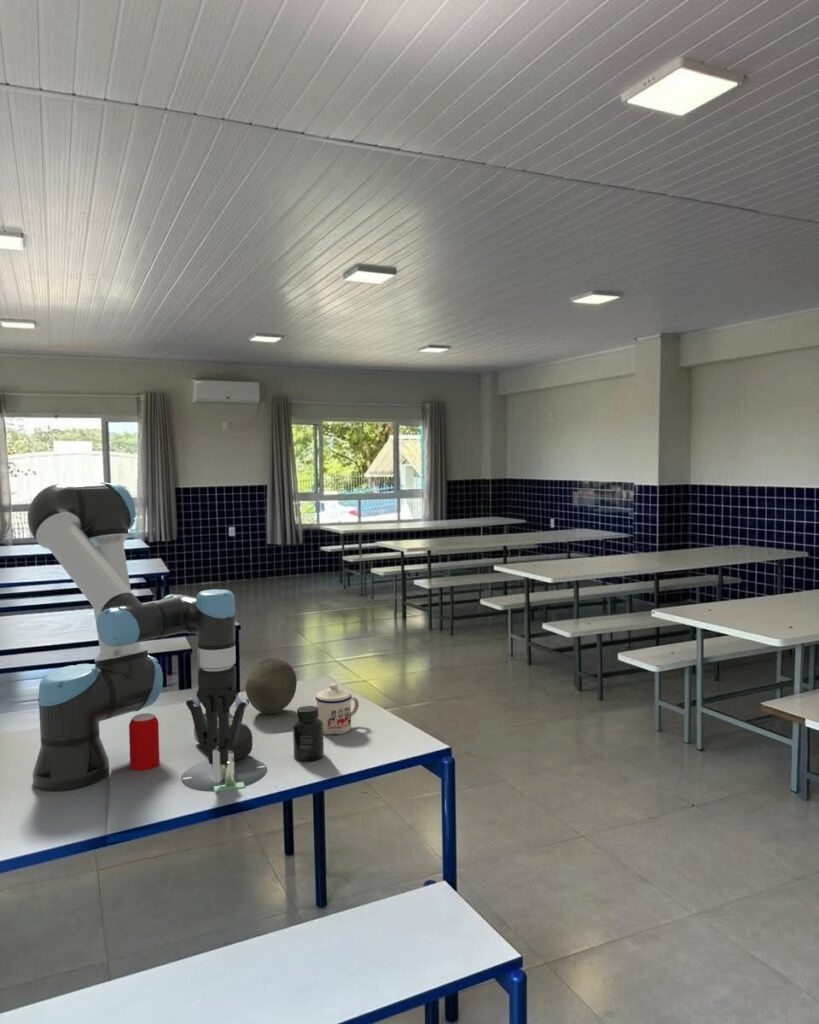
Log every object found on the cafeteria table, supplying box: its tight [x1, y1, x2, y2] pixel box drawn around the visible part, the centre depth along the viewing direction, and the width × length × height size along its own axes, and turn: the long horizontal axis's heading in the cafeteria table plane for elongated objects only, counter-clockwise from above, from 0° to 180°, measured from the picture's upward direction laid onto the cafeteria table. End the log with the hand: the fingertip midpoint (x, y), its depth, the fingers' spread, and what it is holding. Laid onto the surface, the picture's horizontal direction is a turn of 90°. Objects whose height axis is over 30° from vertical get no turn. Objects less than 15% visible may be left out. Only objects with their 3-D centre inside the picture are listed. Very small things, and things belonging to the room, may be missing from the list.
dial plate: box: [180, 757, 268, 793], centre depth 159 cm, size 18×18×1 cm
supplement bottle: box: [292, 705, 325, 763], centre depth 168 cm, size 7×7×12 cm
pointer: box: [224, 750, 235, 786], centre depth 156 cm, size 10×4×5 cm, turn 23°
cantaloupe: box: [245, 657, 298, 715], centre depth 200 cm, size 14×14×15 cm
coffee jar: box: [193, 712, 253, 760], centre depth 172 cm, size 10×8×19 cm
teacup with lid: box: [315, 683, 360, 735], centre depth 189 cm, size 12×9×12 cm
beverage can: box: [128, 712, 161, 772], centre depth 164 cm, size 6×6×12 cm
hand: (218, 779), depth 152 cm, fingers closed
